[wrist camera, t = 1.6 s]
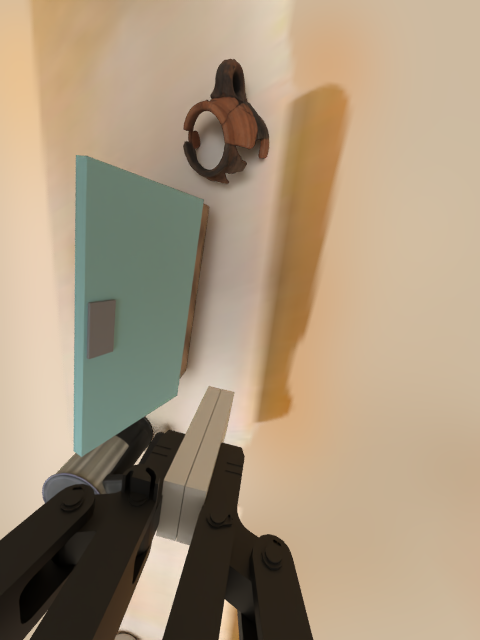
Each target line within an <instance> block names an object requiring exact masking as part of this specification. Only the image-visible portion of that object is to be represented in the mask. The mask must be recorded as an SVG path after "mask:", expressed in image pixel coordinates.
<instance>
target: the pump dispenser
mask: <svg viewBox="0 0 480 640" xmlns="http://www.w3.org/2000/svg"><path fill="white" fill-rule="evenodd" d="M115 640H136V639H135V638H134V637H133V636H131V635H129V634H125V633H122V634H118V635H116V637H115Z"/></svg>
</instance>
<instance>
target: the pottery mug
mask: <svg viewBox="0 0 480 640" xmlns="http://www.w3.org/2000/svg"><path fill="white" fill-rule="evenodd" d="M204 111H210V112H212V113H213V114H214V115H215V116H216V117H217V118H218V120H219V122H220V124H221V125H222V129H223V133H224V142H225V147H224V153H223V156H222V159H221V161H220V163H219V164H218V165H217V166H216V167H215V168H214V169H212V170H207V169H205V168H203V167H202V166H201V165H200V164H199V162H198V160H197V156H196V151H195V149H197V148H198V147H199V146H200V138H199V134H198V132H197V131H193V128H194V124H195V121H196V119H197V117H198V116H199V114H201V113H202V112H204ZM184 130H186V131H189V134H188V139H189V142H187V141H186V142H185V143H184V146H183V147H184V152H185V155H186V157H187V160H188V162H189V164H190V166H191V167H192V168H193V169H194V170H195V171H196V172H197V173H198V174H199V175H201V176H204V177H206V178H207V179H209V180H211V181H216V182H221V183H225V184H228V183H229V181H228V180H227V179H226V175H225V173H228V174H233V173H236V172H241V171H243V170H244V168H245V167H246V165H247V163H246V162H245V161H243V160H242V159H241V156H240V155H239V153H238V151H237V149H236V146H240V147H245V148H247V149H251V148H253V147H254V145H255V141H256V140H259V139H261V143H260V151H259V158H266V157H267V154H268V149H269V134H268V130H267V127H266V125H265V123H264V121H263V120H262V118H261V117H260V116H259V115H258V114H257V112H256V111H255V110H254V108H253V107H252V106H251V104H250V103H248V102H247V99H246V95H245V81H244V74H243V70H242V67H241V65H240V64H239V63H238V62H237V61H236V60H235V59H233V60H232V59H228V60H224V61H223V62H222V63H221V64H220V65H219V67H218V69H217V73H216V79H215V88H214V91H213V92H212V94H211V100H210V101H208V100H205V101H202V102H199V103H197V104H196V105H194V106H193V107H192V108H191V109H190V111H189V113H188V114H187V116H186V119H185V122H184Z"/></svg>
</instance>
